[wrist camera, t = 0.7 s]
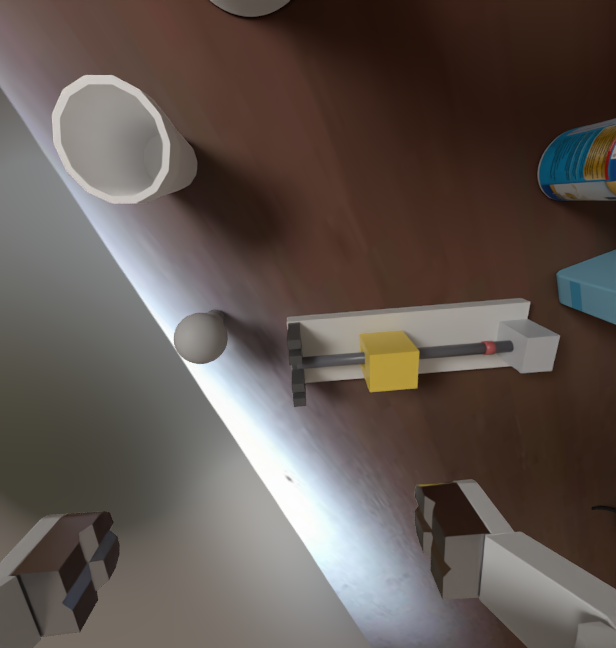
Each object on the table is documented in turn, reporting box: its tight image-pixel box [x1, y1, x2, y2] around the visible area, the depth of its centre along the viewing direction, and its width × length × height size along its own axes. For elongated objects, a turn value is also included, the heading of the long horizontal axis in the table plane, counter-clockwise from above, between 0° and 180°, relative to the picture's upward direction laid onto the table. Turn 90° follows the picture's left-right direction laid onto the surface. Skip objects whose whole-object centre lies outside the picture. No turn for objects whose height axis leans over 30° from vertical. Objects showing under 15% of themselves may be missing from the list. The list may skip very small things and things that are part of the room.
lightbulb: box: [174, 310, 227, 364], centre depth 40 cm, size 6×6×11 cm
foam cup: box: [52, 75, 197, 203], centre depth 32 cm, size 10×9×13 cm
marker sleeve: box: [360, 330, 419, 392], centre depth 42 cm, size 5×6×7 cm
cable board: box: [287, 298, 560, 407], centre depth 44 cm, size 10×34×8 cm, turn 94°
